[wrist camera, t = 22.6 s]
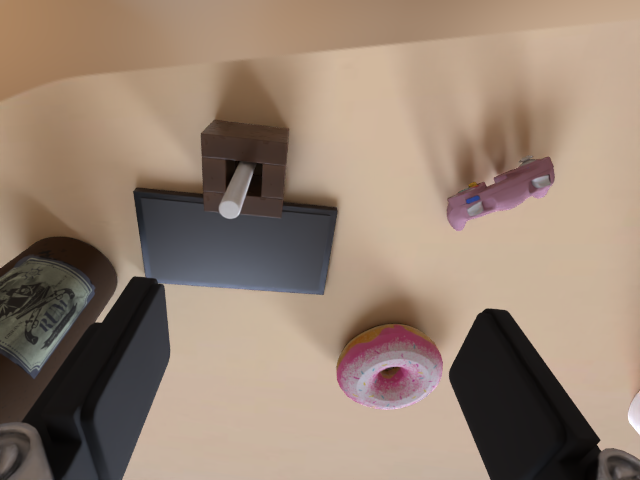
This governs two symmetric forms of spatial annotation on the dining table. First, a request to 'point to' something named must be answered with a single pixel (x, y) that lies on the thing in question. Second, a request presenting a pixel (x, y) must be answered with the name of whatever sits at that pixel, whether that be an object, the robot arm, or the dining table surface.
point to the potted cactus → (635, 413)
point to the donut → (389, 351)
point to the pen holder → (251, 146)
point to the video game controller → (501, 191)
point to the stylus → (237, 190)
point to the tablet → (233, 244)
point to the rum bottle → (46, 315)
